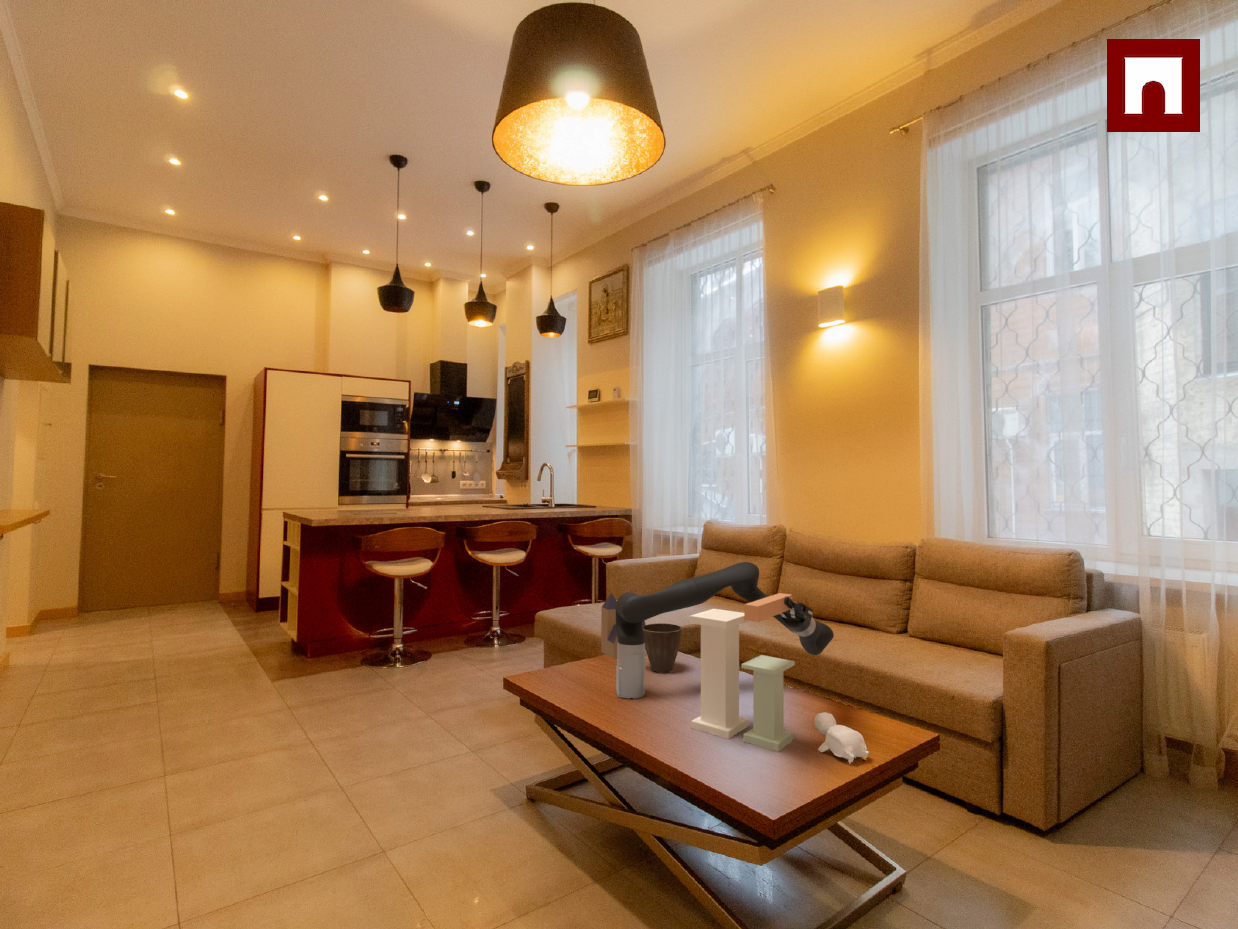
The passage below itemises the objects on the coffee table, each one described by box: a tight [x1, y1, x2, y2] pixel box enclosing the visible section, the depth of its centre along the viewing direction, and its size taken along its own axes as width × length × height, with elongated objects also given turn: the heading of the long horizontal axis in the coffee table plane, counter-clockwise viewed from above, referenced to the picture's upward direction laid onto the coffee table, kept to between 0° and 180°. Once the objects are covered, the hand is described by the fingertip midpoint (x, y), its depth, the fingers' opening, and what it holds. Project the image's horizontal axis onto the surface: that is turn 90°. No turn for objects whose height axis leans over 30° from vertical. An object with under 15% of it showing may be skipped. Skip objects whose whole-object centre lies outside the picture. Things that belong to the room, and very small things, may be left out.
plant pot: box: [643, 622, 683, 674], centre depth 230 cm, size 15×15×16 cm
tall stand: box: [688, 608, 750, 740], centre depth 176 cm, size 14×12×32 cm
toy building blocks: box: [600, 592, 646, 660], centre depth 254 cm, size 12×19×25 cm
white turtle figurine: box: [814, 712, 870, 763], centre depth 159 cm, size 9×8×15 cm
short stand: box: [740, 654, 796, 753], centre depth 166 cm, size 12×10×21 cm
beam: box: [743, 592, 794, 623], centre depth 168 cm, size 22×4×4 cm, turn 141°
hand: (778, 598), depth 172 cm, fingers closed on beam, 4 cm apart
